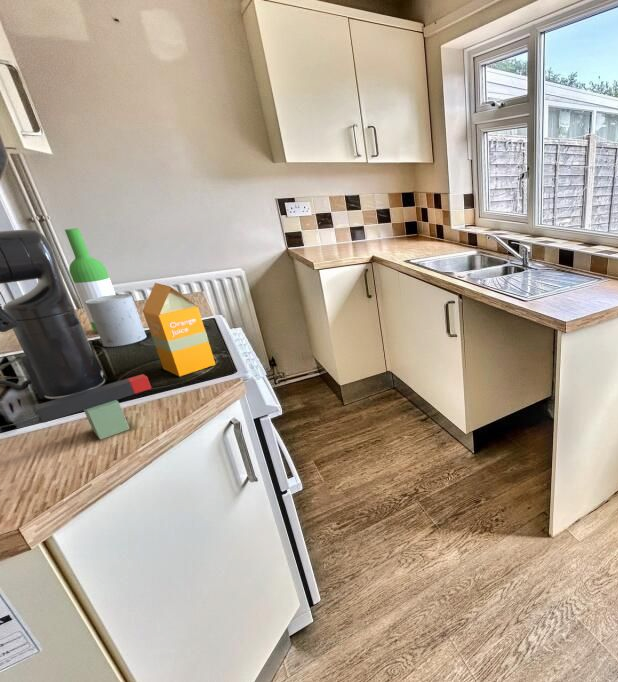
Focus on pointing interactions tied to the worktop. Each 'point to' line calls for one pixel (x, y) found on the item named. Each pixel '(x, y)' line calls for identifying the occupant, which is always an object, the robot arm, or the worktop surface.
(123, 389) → the marker
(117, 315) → the grey speckled cylinder
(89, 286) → the wine bottle
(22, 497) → the worktop surface
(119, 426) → the block
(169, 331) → the orange juice
